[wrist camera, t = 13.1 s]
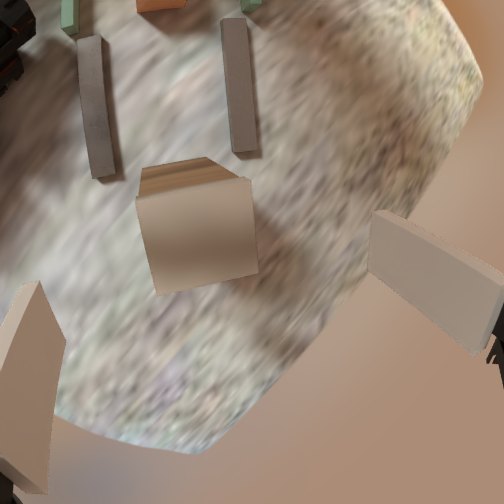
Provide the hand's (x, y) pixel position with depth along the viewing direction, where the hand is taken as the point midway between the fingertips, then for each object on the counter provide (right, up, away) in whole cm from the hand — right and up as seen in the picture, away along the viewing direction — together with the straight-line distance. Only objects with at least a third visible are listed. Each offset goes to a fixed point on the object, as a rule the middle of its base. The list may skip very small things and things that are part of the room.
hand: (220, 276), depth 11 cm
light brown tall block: (-5, +6, +15) cm, 17 cm away
